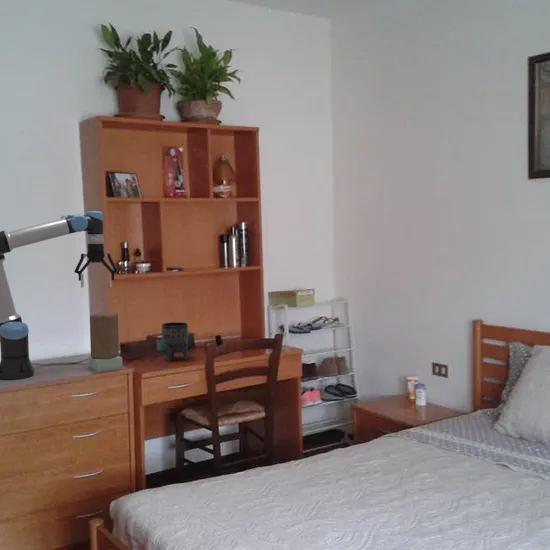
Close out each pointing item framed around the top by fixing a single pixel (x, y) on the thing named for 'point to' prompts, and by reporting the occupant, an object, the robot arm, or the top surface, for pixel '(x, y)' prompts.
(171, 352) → the planter
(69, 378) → the top surface
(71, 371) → the top surface
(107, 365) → the base brick
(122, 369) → the plate
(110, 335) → the wooden block
